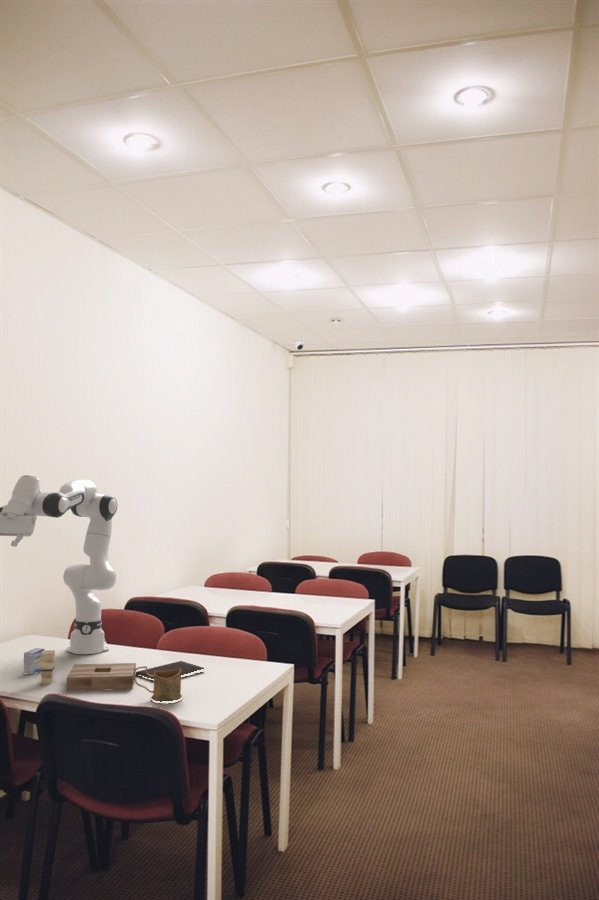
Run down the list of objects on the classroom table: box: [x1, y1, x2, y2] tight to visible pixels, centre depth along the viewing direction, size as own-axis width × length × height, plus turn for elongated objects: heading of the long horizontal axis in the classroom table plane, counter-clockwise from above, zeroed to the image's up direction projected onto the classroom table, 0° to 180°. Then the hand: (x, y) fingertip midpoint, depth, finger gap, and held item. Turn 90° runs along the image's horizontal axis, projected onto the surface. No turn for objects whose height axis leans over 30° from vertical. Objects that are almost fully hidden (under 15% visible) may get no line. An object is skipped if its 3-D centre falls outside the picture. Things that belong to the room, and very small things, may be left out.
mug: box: [134, 665, 183, 702], centre depth 251 cm, size 12×18×12 cm, turn 103°
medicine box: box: [22, 647, 45, 675], centre depth 281 cm, size 8×4×9 cm, turn 168°
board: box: [65, 662, 137, 692], centre depth 269 cm, size 18×24×5 cm
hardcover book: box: [135, 660, 205, 679], centre depth 283 cm, size 16×23×2 cm
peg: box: [39, 649, 56, 685], centre depth 267 cm, size 4×4×12 cm
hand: (4, 545), depth 265 cm, fingers open, 8 cm apart
